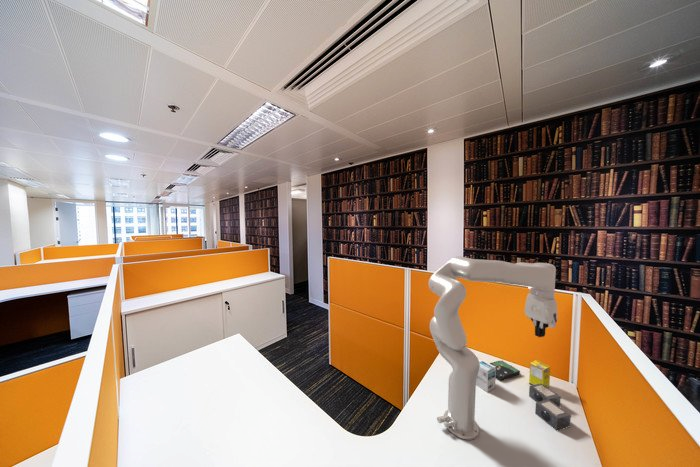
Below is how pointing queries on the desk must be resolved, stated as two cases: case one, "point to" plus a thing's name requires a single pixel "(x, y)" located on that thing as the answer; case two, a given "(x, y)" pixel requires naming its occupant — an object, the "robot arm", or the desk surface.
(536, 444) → the desk surface
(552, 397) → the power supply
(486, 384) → the light bulb box
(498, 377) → the disk drive
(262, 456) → the desk surface
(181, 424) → the desk surface
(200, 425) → the desk surface
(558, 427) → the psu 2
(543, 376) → the supplement box
